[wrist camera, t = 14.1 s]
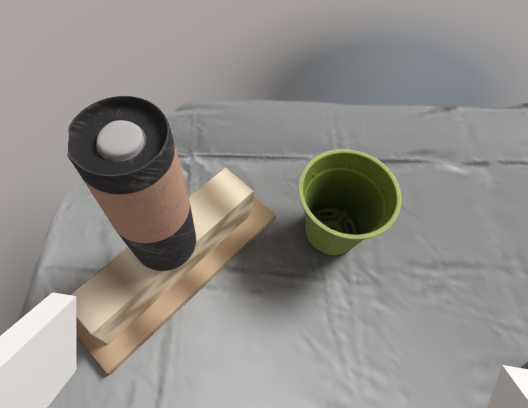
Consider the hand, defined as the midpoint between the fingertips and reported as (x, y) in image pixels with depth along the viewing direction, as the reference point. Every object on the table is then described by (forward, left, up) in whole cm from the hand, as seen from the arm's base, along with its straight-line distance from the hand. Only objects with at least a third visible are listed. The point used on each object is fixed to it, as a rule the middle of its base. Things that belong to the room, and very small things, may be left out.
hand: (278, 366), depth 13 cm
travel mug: (-5, -19, -31) cm, 37 cm away
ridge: (-5, -19, -37) cm, 43 cm away
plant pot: (-23, -7, -38) cm, 45 cm away
